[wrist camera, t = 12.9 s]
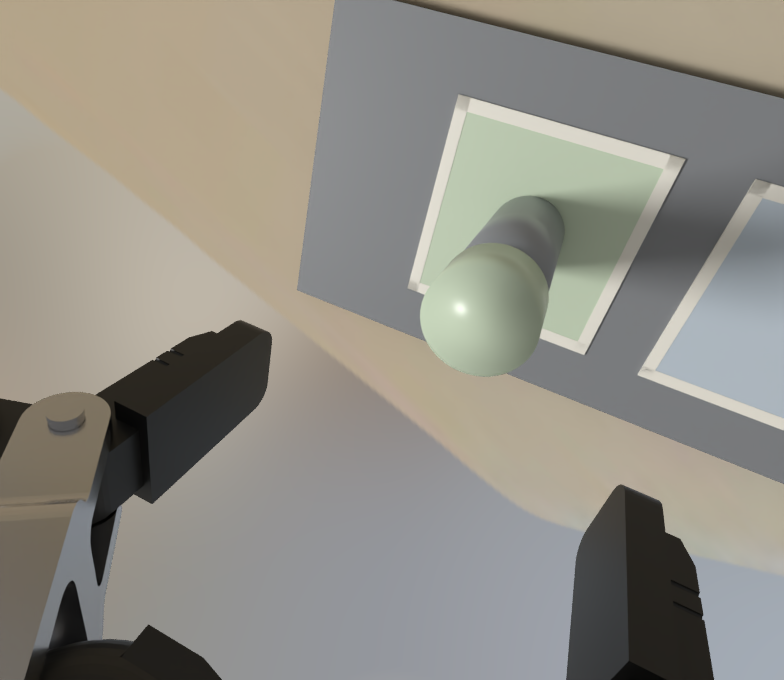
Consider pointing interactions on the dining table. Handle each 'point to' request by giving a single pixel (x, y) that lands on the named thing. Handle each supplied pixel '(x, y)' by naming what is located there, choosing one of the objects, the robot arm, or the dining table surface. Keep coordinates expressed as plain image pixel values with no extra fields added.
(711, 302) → the picture board
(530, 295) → the marker
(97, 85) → the dining table surface
